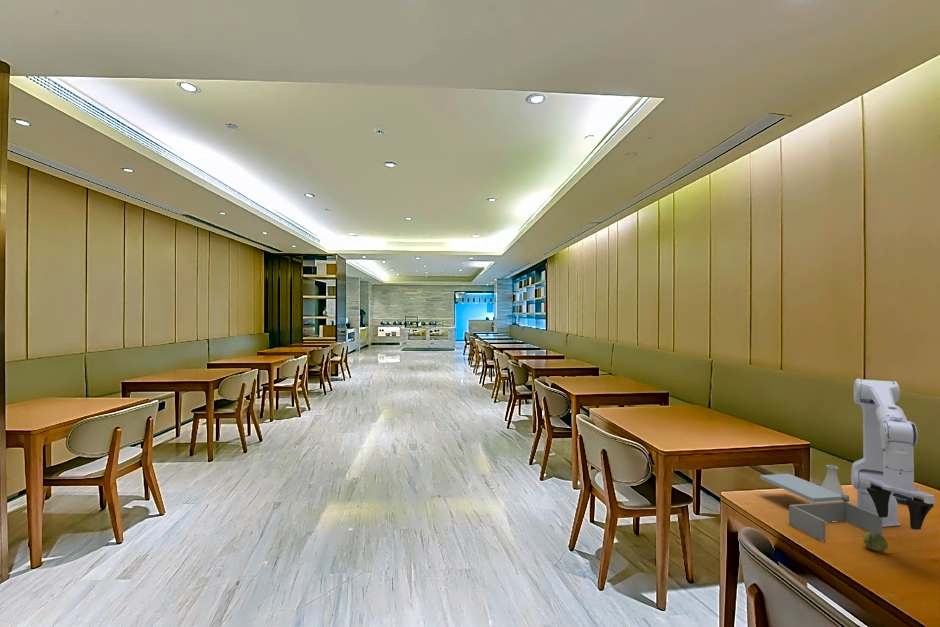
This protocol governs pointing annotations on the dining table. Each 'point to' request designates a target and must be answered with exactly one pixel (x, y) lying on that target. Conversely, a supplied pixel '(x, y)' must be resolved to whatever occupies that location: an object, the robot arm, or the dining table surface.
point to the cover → (803, 488)
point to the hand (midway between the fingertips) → (898, 522)
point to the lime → (875, 541)
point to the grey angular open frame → (831, 517)
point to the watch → (901, 498)
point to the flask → (832, 480)
